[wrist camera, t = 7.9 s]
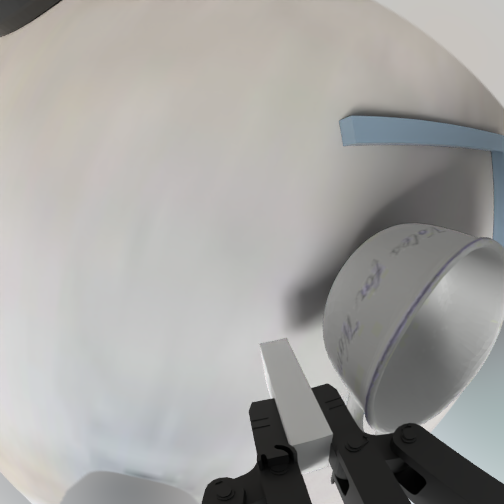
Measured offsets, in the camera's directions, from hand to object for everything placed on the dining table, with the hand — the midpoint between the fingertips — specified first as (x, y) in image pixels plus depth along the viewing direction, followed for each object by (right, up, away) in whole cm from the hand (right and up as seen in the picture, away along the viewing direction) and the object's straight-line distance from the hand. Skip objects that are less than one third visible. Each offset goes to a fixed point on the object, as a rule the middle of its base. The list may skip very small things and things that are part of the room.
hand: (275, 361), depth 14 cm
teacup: (+6, +2, +3) cm, 8 cm away
